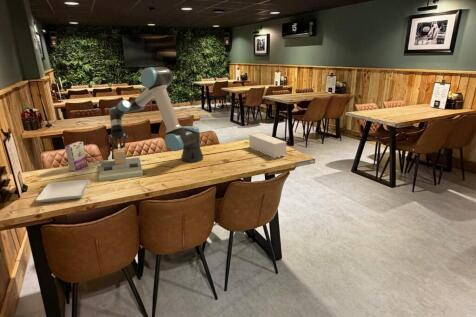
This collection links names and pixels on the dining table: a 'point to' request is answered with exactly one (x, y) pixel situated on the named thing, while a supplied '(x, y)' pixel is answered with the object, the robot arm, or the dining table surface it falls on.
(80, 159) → the candy bar box
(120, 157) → the maple block
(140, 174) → the block
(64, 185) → the salad plate
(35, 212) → the dining table surface
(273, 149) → the white rectangular block
